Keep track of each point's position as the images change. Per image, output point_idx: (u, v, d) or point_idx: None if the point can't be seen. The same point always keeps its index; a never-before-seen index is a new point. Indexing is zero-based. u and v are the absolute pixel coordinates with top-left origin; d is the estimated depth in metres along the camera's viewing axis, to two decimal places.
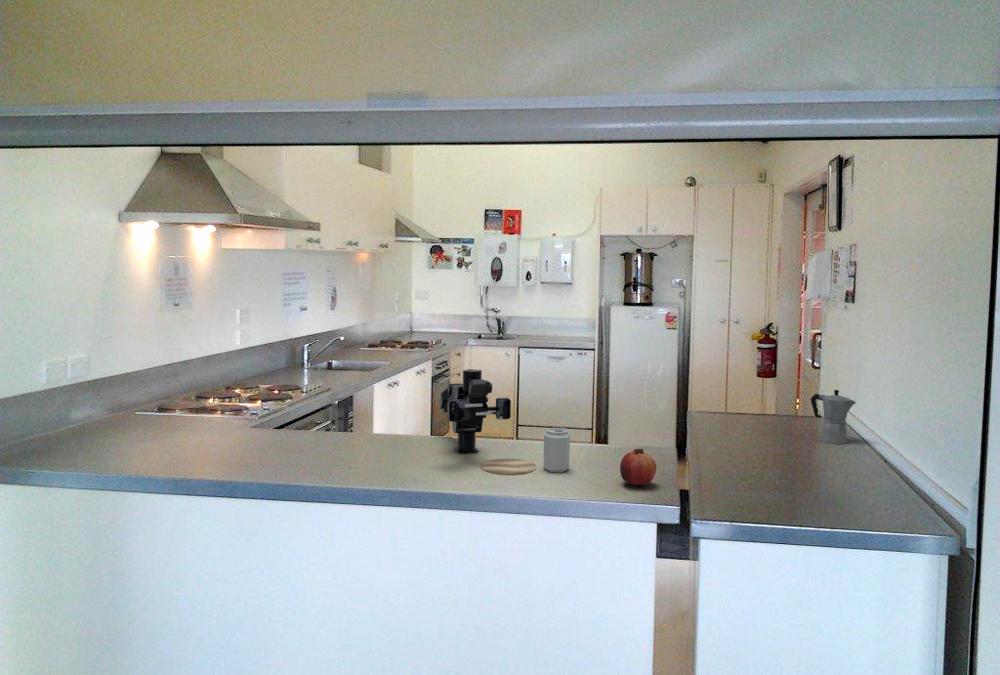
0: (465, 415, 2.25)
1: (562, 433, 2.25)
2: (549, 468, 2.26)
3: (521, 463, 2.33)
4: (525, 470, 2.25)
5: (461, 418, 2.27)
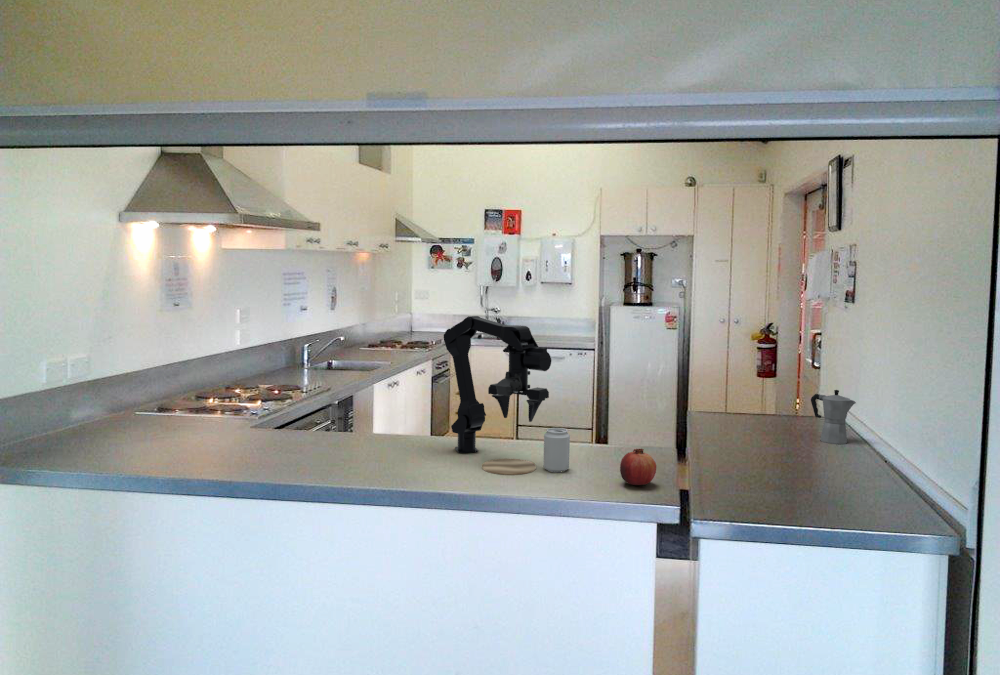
0: None
1: (562, 433, 2.25)
2: (549, 468, 2.26)
3: (521, 463, 2.33)
4: (525, 470, 2.25)
5: None
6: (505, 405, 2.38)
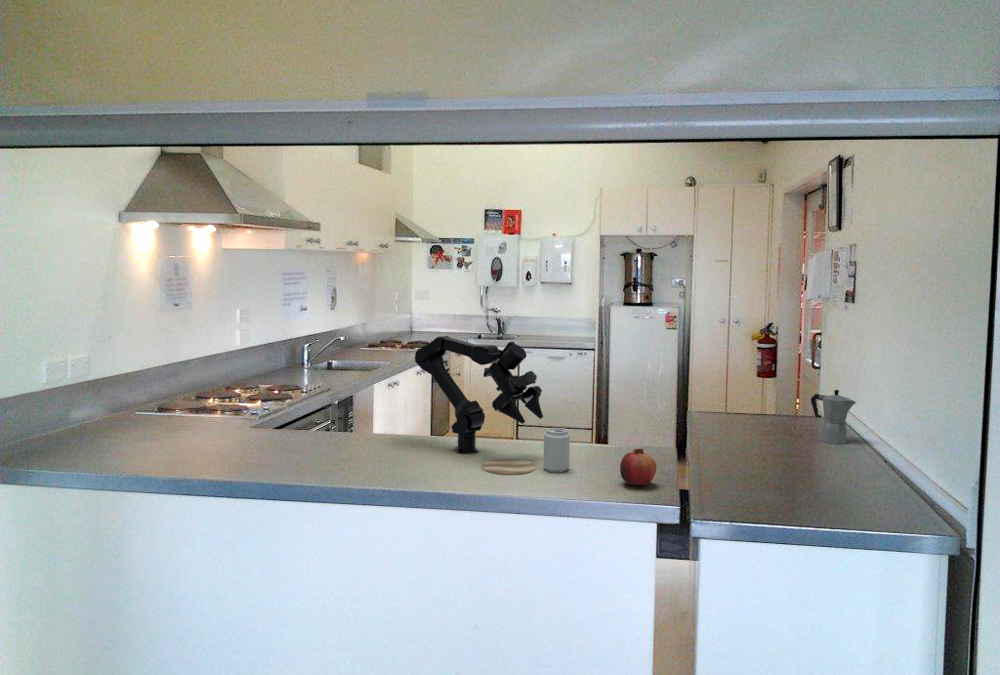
0: (517, 417, 2.30)
1: (562, 433, 2.25)
2: (549, 468, 2.26)
3: (521, 463, 2.33)
4: (525, 470, 2.25)
5: (508, 414, 2.31)
6: None
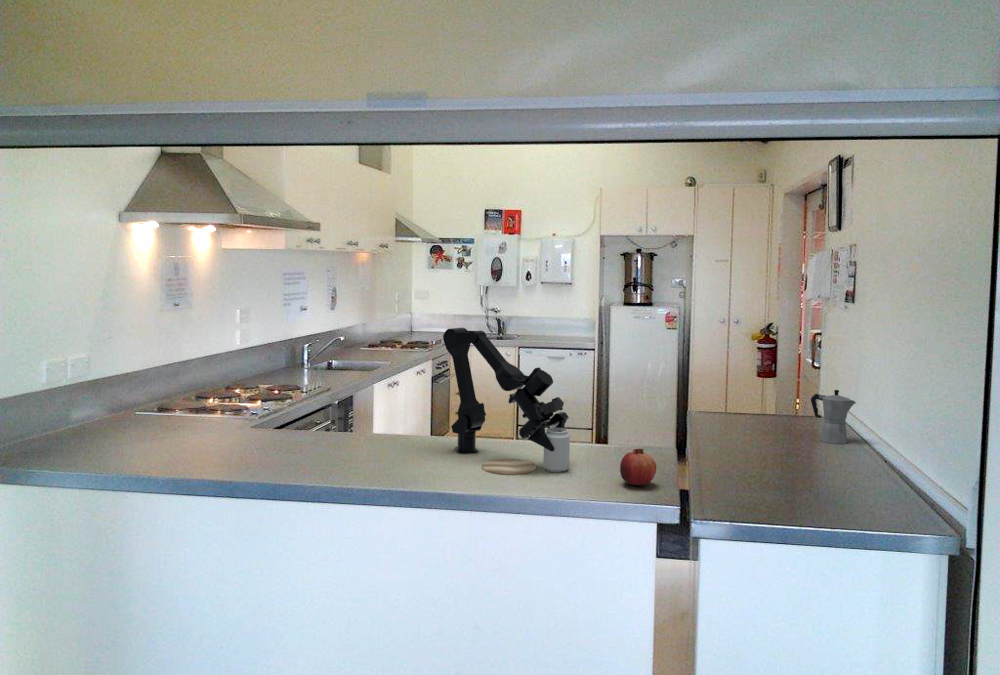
0: (546, 445, 2.25)
1: (562, 433, 2.25)
2: (549, 468, 2.26)
3: (521, 463, 2.33)
4: (525, 470, 2.25)
5: (537, 442, 2.26)
6: None
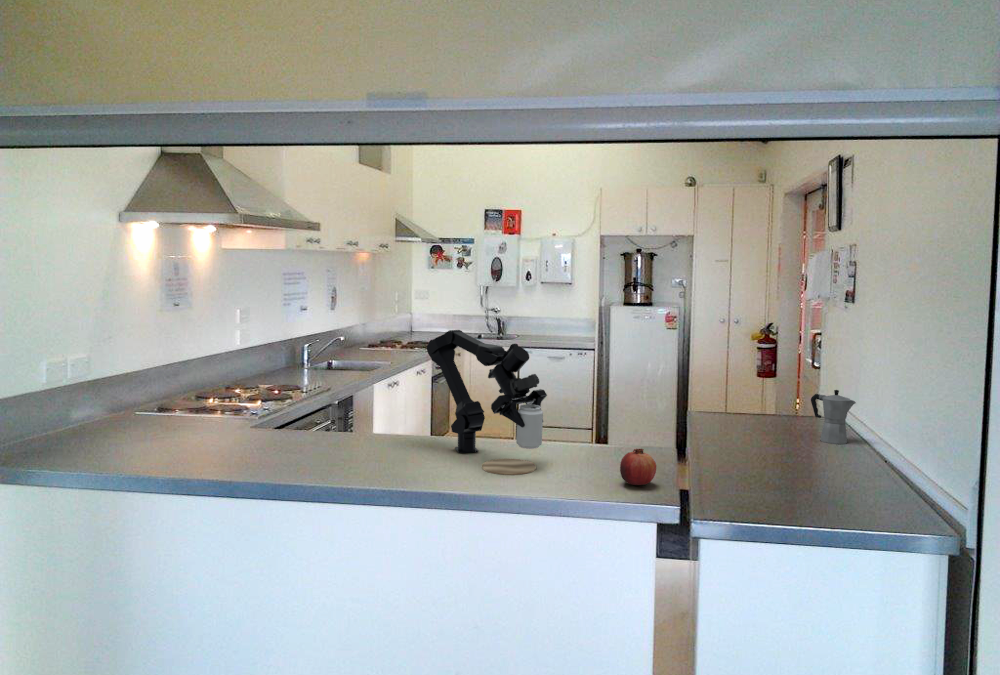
0: (516, 420, 2.26)
1: (534, 410, 2.25)
2: (520, 444, 2.27)
3: (521, 463, 2.33)
4: (525, 470, 2.25)
5: (509, 417, 2.27)
6: None
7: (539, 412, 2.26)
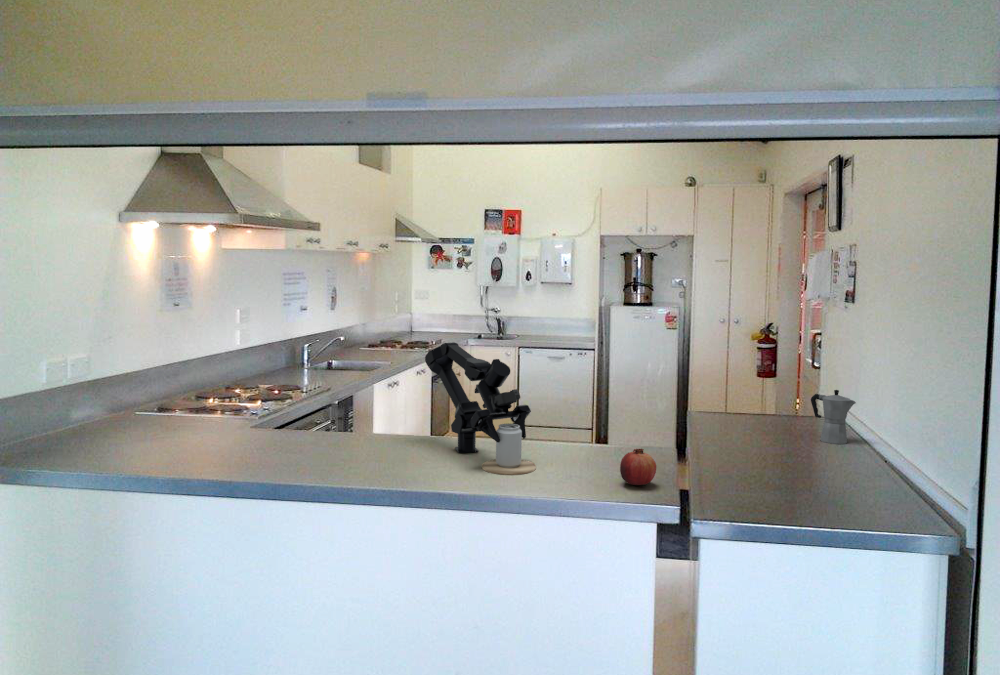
0: (492, 435, 2.27)
1: (510, 429, 2.26)
2: (498, 463, 2.28)
3: (521, 463, 2.33)
4: (525, 470, 2.25)
5: (486, 432, 2.29)
6: None
7: (516, 431, 2.27)
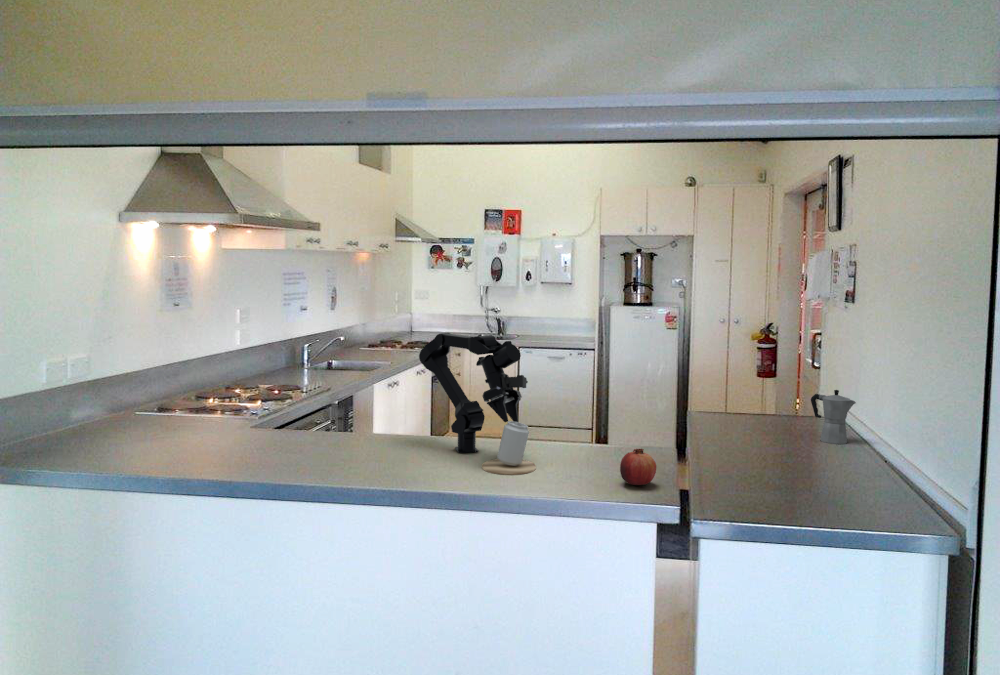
0: (501, 414, 2.31)
1: (519, 427, 2.27)
2: (499, 458, 2.28)
3: (521, 463, 2.33)
4: (525, 470, 2.25)
5: (494, 408, 2.31)
6: None
7: (524, 431, 2.27)
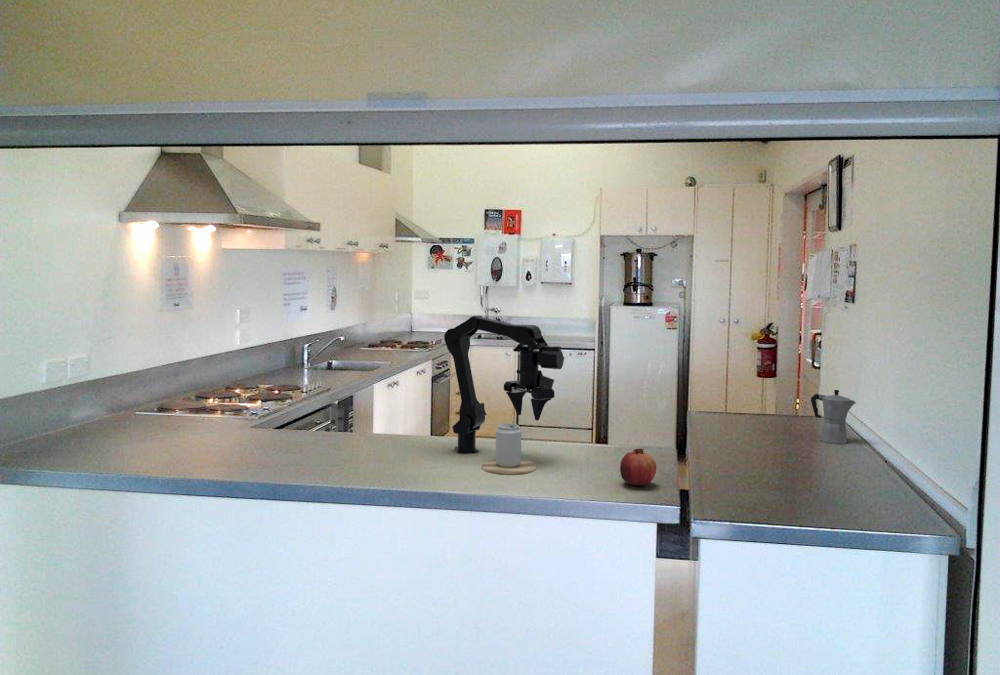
0: (538, 413, 2.34)
1: (510, 429, 2.27)
2: (498, 463, 2.29)
3: (521, 463, 2.33)
4: (525, 470, 2.25)
5: (536, 406, 2.33)
6: None
7: (516, 431, 2.27)
